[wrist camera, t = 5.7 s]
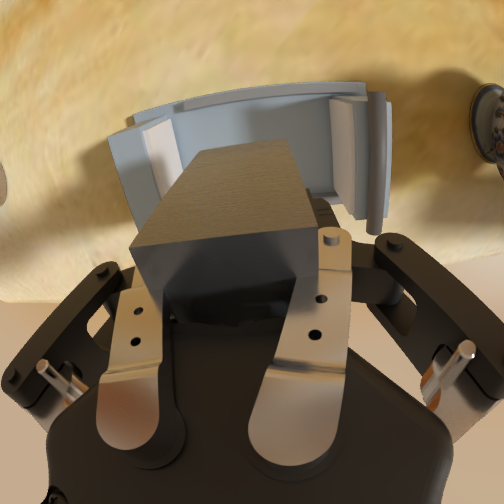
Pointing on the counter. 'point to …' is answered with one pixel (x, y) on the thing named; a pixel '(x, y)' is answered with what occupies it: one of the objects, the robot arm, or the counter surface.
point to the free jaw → (362, 155)
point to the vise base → (228, 136)
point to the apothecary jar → (489, 124)
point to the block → (231, 236)
